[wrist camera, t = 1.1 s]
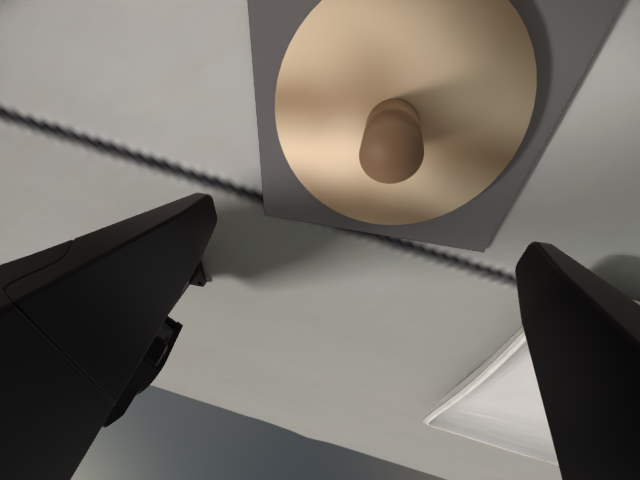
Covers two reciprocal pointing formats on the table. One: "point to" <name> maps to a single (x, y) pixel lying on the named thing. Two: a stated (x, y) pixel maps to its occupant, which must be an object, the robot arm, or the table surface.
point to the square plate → (500, 404)
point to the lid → (404, 103)
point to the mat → (492, 203)
